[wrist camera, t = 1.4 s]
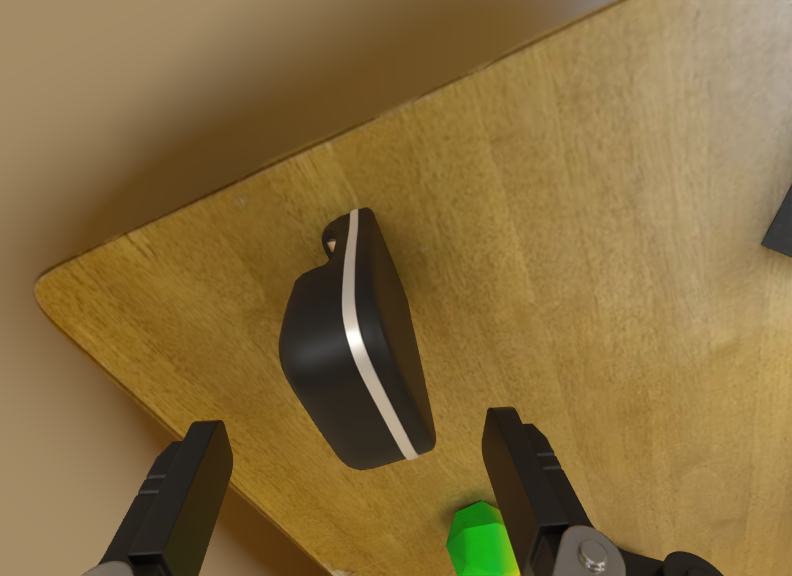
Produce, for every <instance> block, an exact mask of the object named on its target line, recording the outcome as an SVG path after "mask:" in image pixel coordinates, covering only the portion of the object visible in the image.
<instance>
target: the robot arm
mask: <svg viewBox="0 0 792 576" xmlns="http://www.w3.org/2000/svg"><path fill="white" fill-rule="evenodd" d="M482 455H483V460H484V463H485V466H486V469H487V472H488V476H489V479H490V482H491V485H492V488H493V491H494V494H495V497H496V500H497V503H498V506H499V509H500V512H501V516H502V519H503V522H504V525H505V528H506V531H507V534H508V537H509V540H510V543H511V546H512V549H513V552H514V556H515V559H516V562H517V565H518V568H519V571H520V574H521V576H723V575H722V573H721V572H719V571H718V570H717V569H716V568H715V567H714V566H713V565H711V564H710V563H709V562H707V561H705V560H704V559H702V558H700V557H698V556H696V555H694V554H691V553H688V552H682V551H677V552H673V553H670V554H669V555H668V556H667V557H666V558H665V560H664V561H660V560H656V559H653V558H649V557H645V556H642V555H638V554H634V553H630V552H627V551H624V550H622V549H620V548H618V547H616V546H615V545H614V543H613V542H612V541H611V540H610V539H609V538H608V537H607V536H605V535H604V534H603V533H601V532H599V531H598V530H596V529H595V528H594V526H593V525H592V524H591V522H590V520H589V519H588V517H587V515H586V513H585V511H584V509H583V507H582V505H581V503H580V501H579V499H578V497H577V496H576V494H575V492H574V490H573V488H572V486H571V484H570V482H569V480H568V478H567V476H566V474H565V473H564V471H563V470H562V469H561V465H560V463H559V461H558V459H557V457H556V456H555V455H554V451H553V450H552V448H551V446H550V444H549V442H548V440H547V438H546V437H545V436H544V435H543V434H542V433H541V432H540V431H539V430H538V429H537V428H536V427H535V426H534V425H533V424H522V422H521V420H520V417H519V415H518V413H517V411H516V410H515V408H514V407H496V408H489V409H488V410H487V415H486V421H485V426H484V431H483V437H482ZM232 468H233V454H232V450H231V447H230V443H229V439H228V436H227V432H226V428H225V425H224V422H223V421H222V420H214V421H195V422H193V423H192V424H191V426H190V428H189V430H188V432H187V434H186V436H185V438H184V440H183V441H178V442H172V443H171V444H170V445H169V446H168V447H167V448H166V449H165V450H164V451H163V452H162V453H161V454H160V455H159V456H158V457H157V459H156V460H155V462H154V464H153V466H152V467H151V469H150V471H149V473H148V475H147V479H146V480H145V481H144V482H143V484H142V486H141V488H140V490H139V493H138V496H136V497H135V499H134V501H133V503H132V504H131V506H130V508H129V510H128V512H127V514H126V516H125V518H124V519H123V521H122V523H121V525H120V527H119V529H118V531H117V532H116V534H115V536H114V538H113V540H112V542H111V544H110V545H109V547H108V549H107V551H106V553H105V554H104V556H103V558H102V559H101V561H100V562H99V564H98V565H97V566H96V567H93V568H92V569H90V570H88V571H87V572H85V573H84V574H83V575H81V576H198V575H199V572H200V569H201V566H202V563H203V560H204V557H205V554H206V551H207V548H208V545H209V542H210V538H211V535H212V532H213V529H214V526H215V523H216V520H217V517H218V514H219V511H220V507H221V505H222V502H223V498H224V496H225V493H226V489H227V486H228V483H229V480H230V477H231V473H232Z"/></svg>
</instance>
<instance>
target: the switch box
mask: <svg viewBox="0 0 792 576" xmlns="http://www.w3.org/2000/svg"><path fill="white" fill-rule="evenodd" d="M762 246H765V247H767V248H770V249H772V250H774V251H777V252H779V253H782V254H784V255H786V256H789V257H791V258H792V187H791V189H790V191H789V192H788V194H787V196H786V198H785V200H784V202H783V204H782V206H781V208H780V210H779V212H778V214H777V216H776V218H775V220H774V221H773V223H772V225H771V227H770V229H769V231H768V233H767V235H766V237H765V239H764V241H763V243H762Z"/></svg>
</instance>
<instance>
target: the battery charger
mask: <svg viewBox="0 0 792 576" xmlns="http://www.w3.org/2000/svg"><path fill="white" fill-rule="evenodd" d="M322 244H323V247H324V249H325V252H326V254H327V256H328V258H329V261H328V262H327V264H325V265H323V266H320V267H317V268H314V269H312V270H310V271H308V272H306V273H304V274H302V275H301V276H300V277H299V278H298V279H297V280H296V281H295V284H294V287H293V290H292V293H291V296H290V298H289V301H288V303H287V307H286V311H285V315H284V319H283V323H282V328H281V333H280V339H279V358H280V362H281V366H282V369H283V372H284V374H285V376H286V379H287V381H288V382H289V384H290V386H291V387H292V389H293V391H294V392H295V394H296V395H297V397H298V399H299V400H300V402H301V403H302V405H303V406H304V408H305V409H306V411H307V412H308V414H309V415H310V417H311V419H312V420H313V422H314V423H315V425H316V426H317V428H318V429H319V431H320V432H321V433H322V435H323V436H324V438H325V439H326V441H327V442H328V443H329V445H330V446H331V448H332V449H333V451H334V452H335V454H336V455H337V456H338V457H339V459H340V460H341V461H342V462H343V463H345V464H346V465H347V466H348V467H351V468H353V469H358V470H367V469H373V468H377V467H380V466H383V465H387V464H390V463H393V462H397V461H400V460H403V459H407V460H413V459H416V458H419V457H421V455H422V454H423V453H427V452H429V451H431V450H432V449H433V448H434V446H435V443H436V433H435V428H434V422H433V417H432V412H431V408H430V403H429V398H428V393H427V388H426V383H425V379H424V374H423V369H422V365H421V360H420V355H419V351H418V346H417V342H416V337H415V333H414V328H413V324H412V319H411V314H410V309H409V304H408V300H407V297H406V295H405V292H404V290H403V287H402V284H401V282H400V279H399V277H398V274H397V272H396V269H395V267H394V264H393V262H392V259H391V256H390V254H389V251H388V249H387V246H386V244H385V241H384V239H383V236H382V234H381V231H380V229H379V226H378V224H377V221H376V219H375V216H374V214H373V212H372V210H371V209H370V208H362V209H360V210H358V208H357V209H355V210H352V211H350V213H349V214H346V215H343V216H341V217H339V218H337V219H336V220H334V221H332V222H331V223H330V224H329V225H328V226H327V227H326V228H325V230H324V232H323V235H322Z"/></svg>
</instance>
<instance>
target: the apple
mask: <svg viewBox="0 0 792 576" xmlns="http://www.w3.org/2000/svg"><path fill="white" fill-rule="evenodd" d="M446 546H447V549H448V552H449V555H450V557H451V560H452V563H453V566H454V568H455V571H456V574H457V576H519V575H520V571H519V568H518V565H517V562H516V559H515V556H514V552H513V549H512V546H511V543H510V540H509V537H508V534H507V531H506V528H505V525H504V522H503V519H502V516H501V512H500V510H499V509H497V508H495V507H493V506H491V505H489V504H487V503H485V502H483V501H480V502H477V503H475V504H473V505H471V506H469V507H467V508H465V509H462V510H460V511H458V512H456V514H455V517H454V520H453V522H452V525H451V528H450V532H449V536H448V540H447V544H446Z"/></svg>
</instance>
